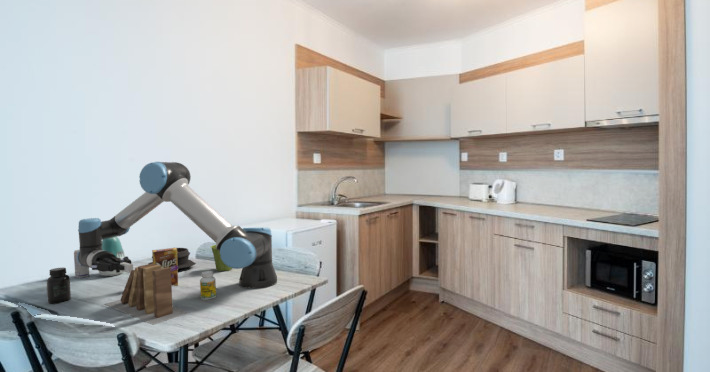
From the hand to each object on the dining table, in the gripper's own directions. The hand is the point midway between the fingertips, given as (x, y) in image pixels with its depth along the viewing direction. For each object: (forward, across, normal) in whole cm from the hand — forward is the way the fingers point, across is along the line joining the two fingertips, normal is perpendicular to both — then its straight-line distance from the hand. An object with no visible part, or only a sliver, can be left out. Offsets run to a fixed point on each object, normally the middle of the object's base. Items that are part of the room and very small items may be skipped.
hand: (130, 268), depth 140 cm
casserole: (-39, -36, -13) cm, 55 cm away
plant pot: (-14, -48, -13) cm, 52 cm away
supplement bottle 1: (-27, +13, -13) cm, 33 cm away
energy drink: (-60, -6, -13) cm, 61 cm away
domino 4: (+15, 0, -12) cm, 19 cm away
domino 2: (+3, 0, -12) cm, 12 cm away
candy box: (-11, -18, -13) cm, 25 cm away
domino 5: (+21, 0, -12) cm, 24 cm away
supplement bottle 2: (+17, -19, -13) cm, 29 cm away
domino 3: (+9, 0, -12) cm, 15 cm away
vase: (-51, -15, -13) cm, 55 cm away
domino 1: (-3, 0, -12) cm, 12 cm away
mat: (+9, 0, -13) cm, 15 cm away
